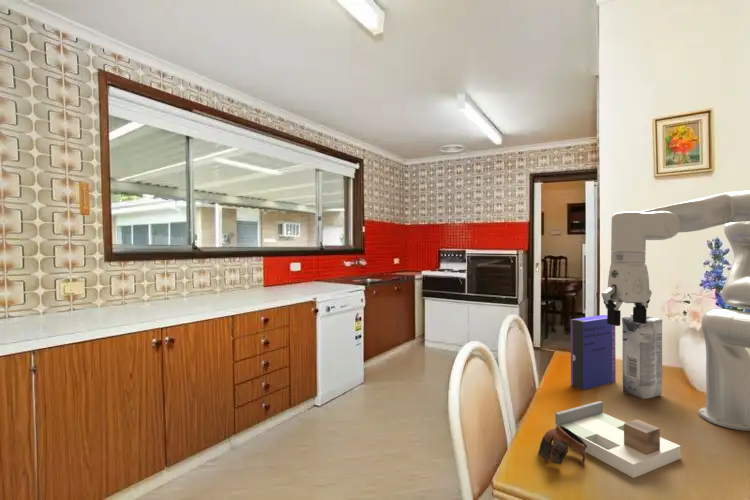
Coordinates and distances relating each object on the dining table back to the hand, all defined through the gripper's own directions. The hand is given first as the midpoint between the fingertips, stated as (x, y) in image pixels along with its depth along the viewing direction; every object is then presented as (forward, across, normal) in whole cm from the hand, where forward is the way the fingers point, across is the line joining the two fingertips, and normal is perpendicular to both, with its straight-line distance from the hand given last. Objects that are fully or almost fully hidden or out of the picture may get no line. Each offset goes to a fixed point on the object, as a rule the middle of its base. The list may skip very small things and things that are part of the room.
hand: (626, 323), depth 98 cm
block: (+27, -7, -9) cm, 29 cm away
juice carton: (+29, +32, +17) cm, 46 cm away
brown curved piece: (+31, -25, -2) cm, 39 cm away
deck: (+30, -8, -3) cm, 31 cm away
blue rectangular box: (+29, +25, +29) cm, 48 cm away
